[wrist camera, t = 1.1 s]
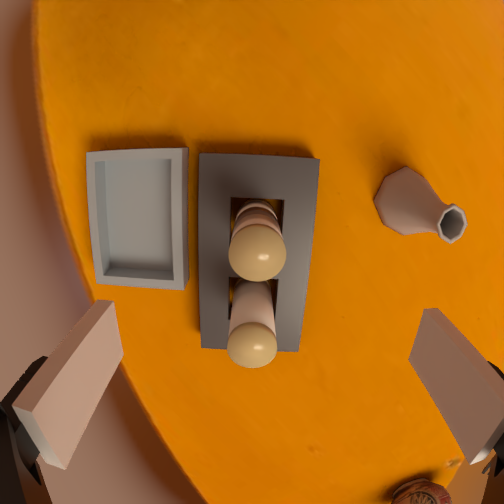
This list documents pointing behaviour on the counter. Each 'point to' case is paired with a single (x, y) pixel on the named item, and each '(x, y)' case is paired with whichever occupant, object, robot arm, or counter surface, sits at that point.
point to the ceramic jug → (421, 493)
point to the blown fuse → (257, 242)
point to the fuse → (252, 324)
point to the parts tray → (139, 216)
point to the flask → (417, 207)
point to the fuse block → (219, 237)
